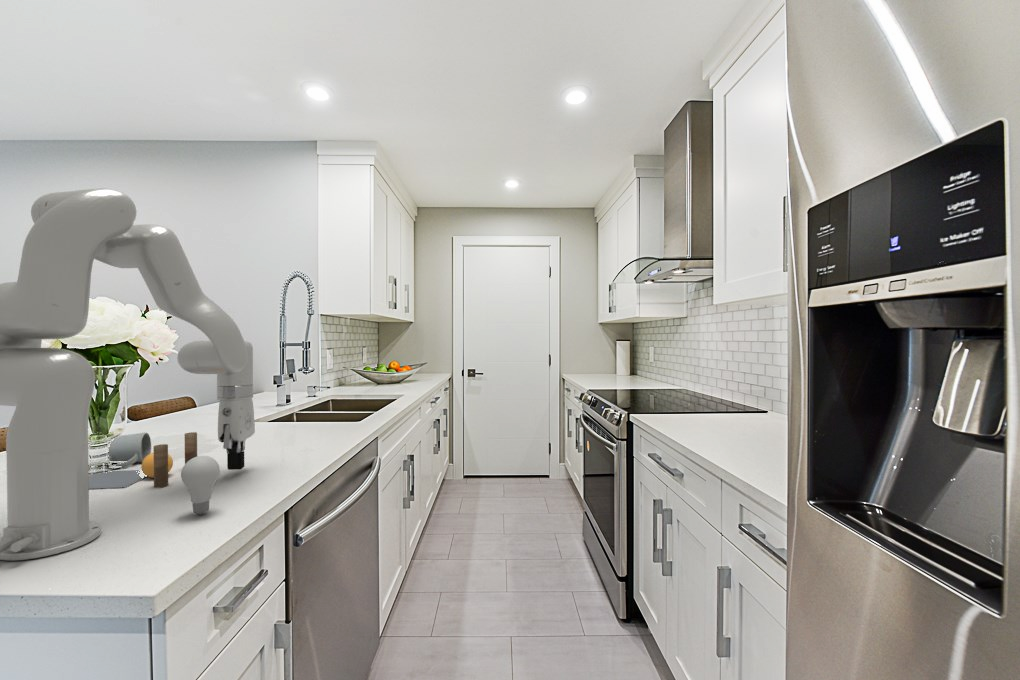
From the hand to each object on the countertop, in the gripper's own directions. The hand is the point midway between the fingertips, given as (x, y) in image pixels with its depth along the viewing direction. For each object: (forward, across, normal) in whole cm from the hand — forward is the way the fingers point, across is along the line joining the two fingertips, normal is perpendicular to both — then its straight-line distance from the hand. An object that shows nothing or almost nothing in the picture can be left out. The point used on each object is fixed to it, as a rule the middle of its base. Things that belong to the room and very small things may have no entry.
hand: (236, 468), depth 115 cm
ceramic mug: (+2, +14, +32) cm, 35 cm away
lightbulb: (+2, -26, -4) cm, 26 cm away
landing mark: (+2, 0, +27) cm, 27 cm away
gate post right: (+2, +7, +13) cm, 15 cm away
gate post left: (+2, -6, +13) cm, 15 cm away
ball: (-2, +1, +18) cm, 18 cm away
